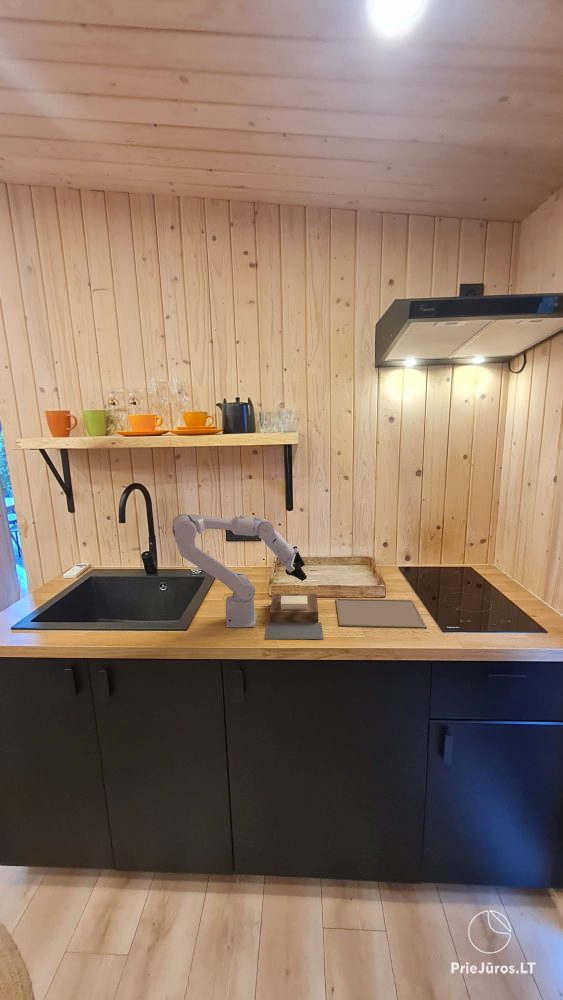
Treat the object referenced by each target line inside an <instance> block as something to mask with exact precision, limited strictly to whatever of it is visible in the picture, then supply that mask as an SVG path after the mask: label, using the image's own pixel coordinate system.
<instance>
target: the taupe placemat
mask: <svg viewBox="0 0 563 1000" xmlns="http://www.w3.org/2000/svg"><path fill="white" fill-rule="evenodd" d="M335 606H336V612H337V620H338V627H342V628H343V627H346V628H348V627H349V628H351V627H352V628H391V629H392V628H395V629H397V628H398V629H399V628H400V629H401V628H402V629H428V626H427V624H426V623H425V621H424V619H423V618H422V615H421V613H420V611H419V610H418V608H417V606H416V604H415V602H414V600H413V599H391V598H390V599H389V598H388V599H386V598H385V599H384V598H383V599H382V598H380V599H379V598H378V599H377V598H335Z"/></svg>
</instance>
